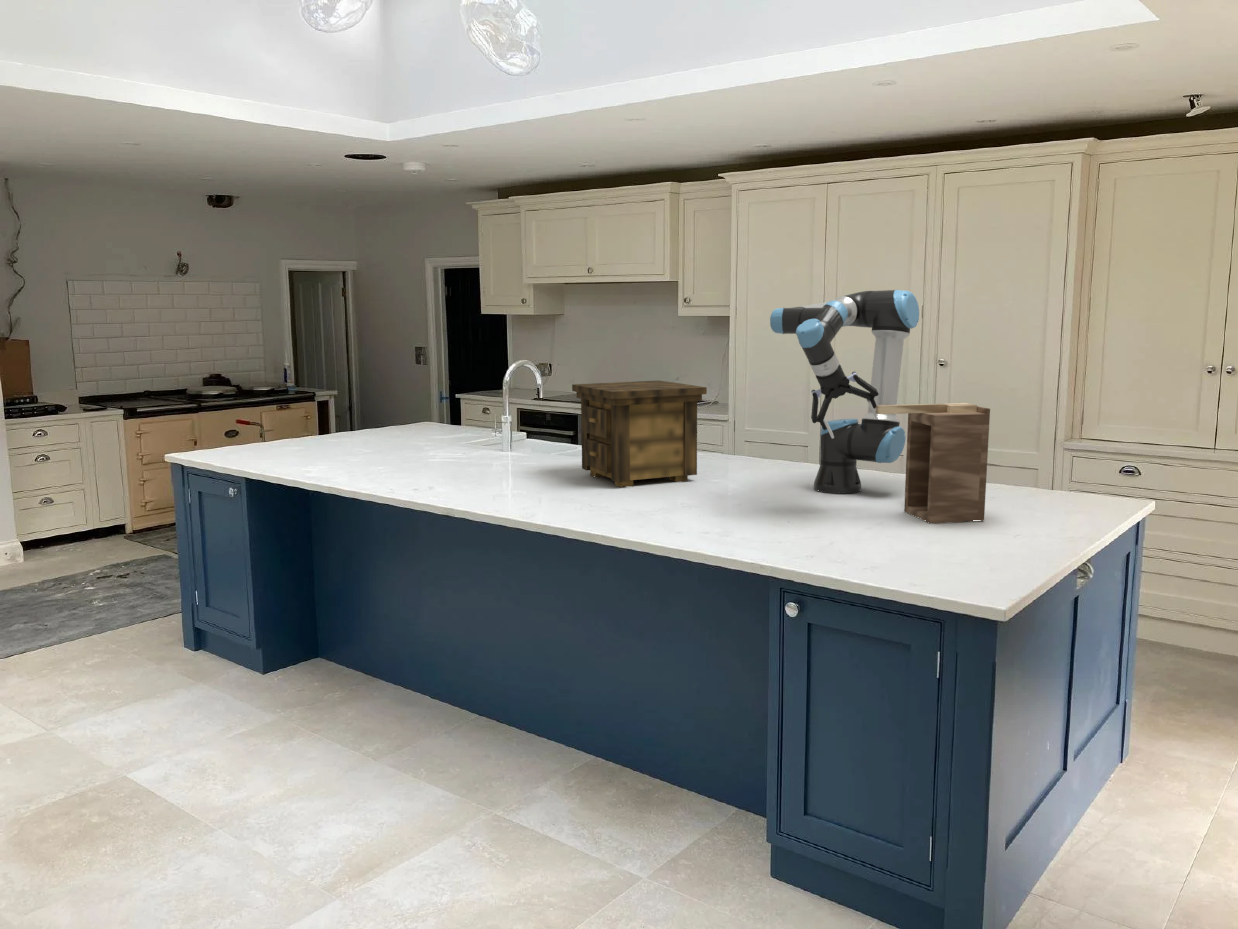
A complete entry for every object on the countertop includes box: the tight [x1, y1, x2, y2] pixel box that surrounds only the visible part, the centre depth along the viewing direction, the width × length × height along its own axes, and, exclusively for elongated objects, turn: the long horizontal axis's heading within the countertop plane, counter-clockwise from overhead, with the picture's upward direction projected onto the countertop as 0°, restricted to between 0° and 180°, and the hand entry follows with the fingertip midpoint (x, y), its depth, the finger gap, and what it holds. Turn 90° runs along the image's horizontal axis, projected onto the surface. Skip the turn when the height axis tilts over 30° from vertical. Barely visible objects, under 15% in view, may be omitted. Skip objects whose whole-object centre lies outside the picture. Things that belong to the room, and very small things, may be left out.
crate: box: [571, 380, 708, 488], centre depth 336 cm, size 35×35×33 cm
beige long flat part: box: [876, 402, 978, 415], centre depth 267 cm, size 6×28×2 cm, turn 99°
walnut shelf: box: [903, 405, 991, 524], centre depth 271 cm, size 16×16×32 cm
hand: (854, 426), depth 282 cm, fingers open, 13 cm apart
